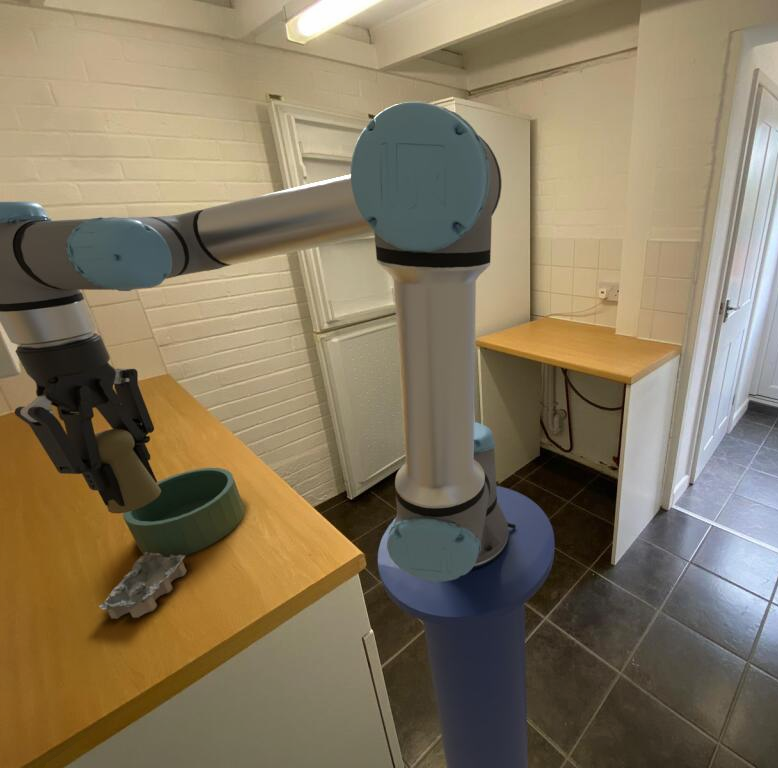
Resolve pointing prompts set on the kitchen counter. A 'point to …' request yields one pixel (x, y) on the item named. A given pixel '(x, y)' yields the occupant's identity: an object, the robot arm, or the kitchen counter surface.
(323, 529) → the kitchen counter surface
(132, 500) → the cork
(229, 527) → the green round bowl
